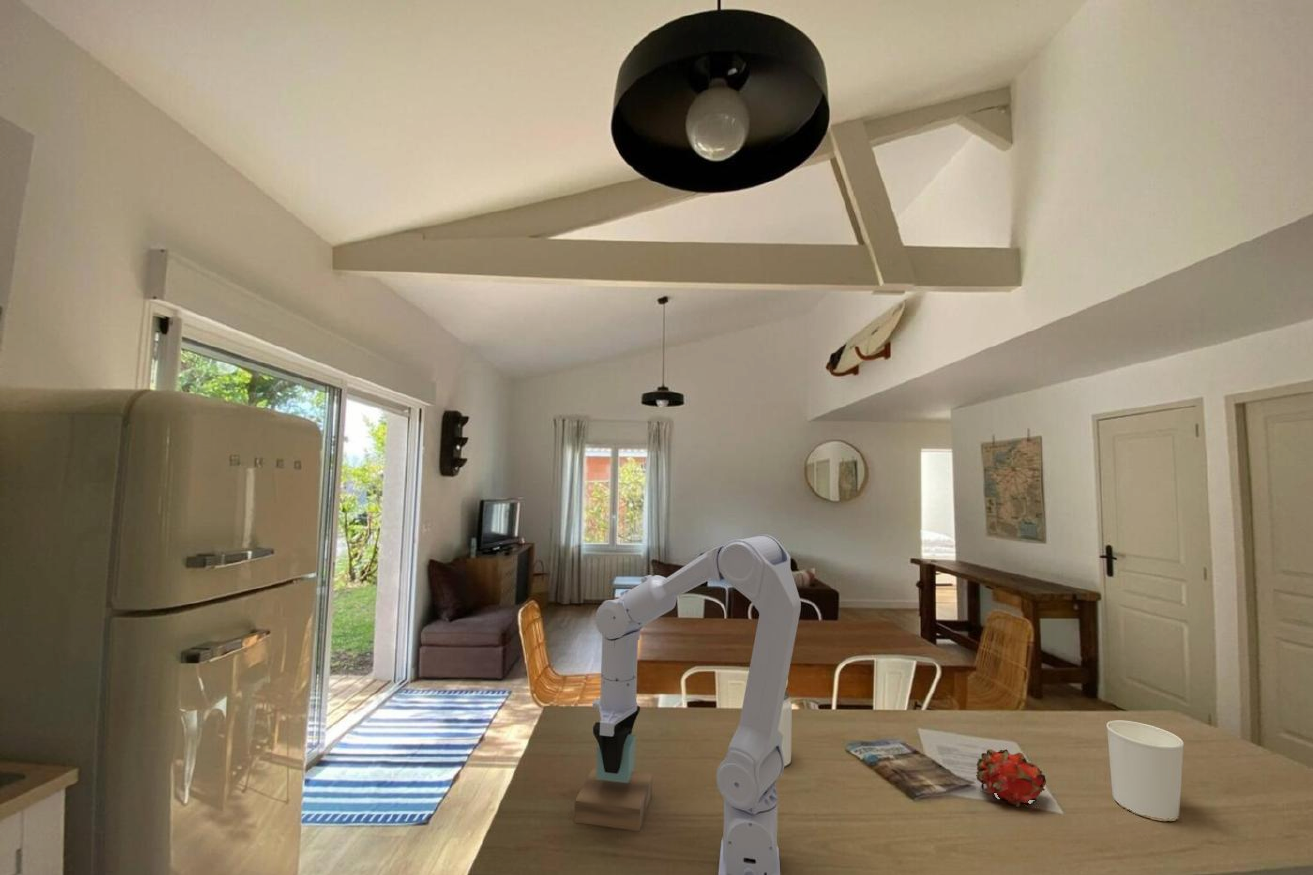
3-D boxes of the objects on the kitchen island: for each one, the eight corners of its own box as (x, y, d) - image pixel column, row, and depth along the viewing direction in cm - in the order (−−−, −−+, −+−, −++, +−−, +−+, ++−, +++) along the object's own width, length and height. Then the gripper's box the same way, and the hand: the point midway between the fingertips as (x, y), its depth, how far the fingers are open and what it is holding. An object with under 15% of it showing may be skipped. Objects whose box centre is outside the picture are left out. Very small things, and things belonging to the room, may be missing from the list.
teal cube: (628, 783, 89) (629, 749, 89) (596, 779, 89) (597, 746, 90) (634, 766, 94) (635, 734, 94) (604, 763, 94) (605, 731, 95)
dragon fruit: (968, 805, 97) (1037, 816, 98) (998, 798, 91) (1072, 810, 91) (958, 749, 103) (1023, 760, 103) (985, 738, 96) (1055, 750, 97)
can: (791, 771, 104) (792, 702, 104) (754, 766, 105) (756, 698, 106) (790, 753, 110) (791, 689, 111) (755, 749, 111) (757, 685, 112)
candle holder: (1155, 829, 89) (1154, 749, 90) (1092, 794, 99) (1091, 722, 100) (1201, 821, 92) (1199, 743, 93) (1135, 788, 101) (1134, 717, 102)
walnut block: (639, 833, 85) (640, 809, 86) (574, 824, 87) (575, 800, 87) (651, 796, 95) (652, 774, 95) (592, 789, 97) (593, 767, 97)
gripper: (606, 658, 100) (603, 738, 99) (581, 689, 86) (577, 783, 85) (646, 661, 99) (643, 743, 98) (627, 693, 85) (624, 789, 84)
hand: (616, 762), depth 92 cm, fingers closed on teal cube, 5 cm apart
